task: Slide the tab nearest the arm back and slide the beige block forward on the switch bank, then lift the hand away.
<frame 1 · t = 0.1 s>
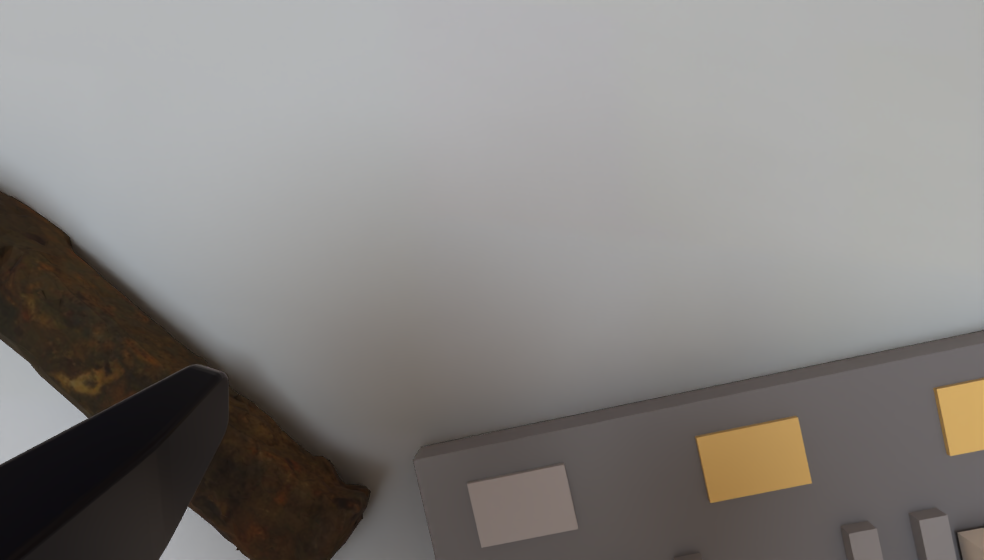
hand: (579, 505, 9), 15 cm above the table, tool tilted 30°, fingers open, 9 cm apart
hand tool: (134, 354, 25), on the table
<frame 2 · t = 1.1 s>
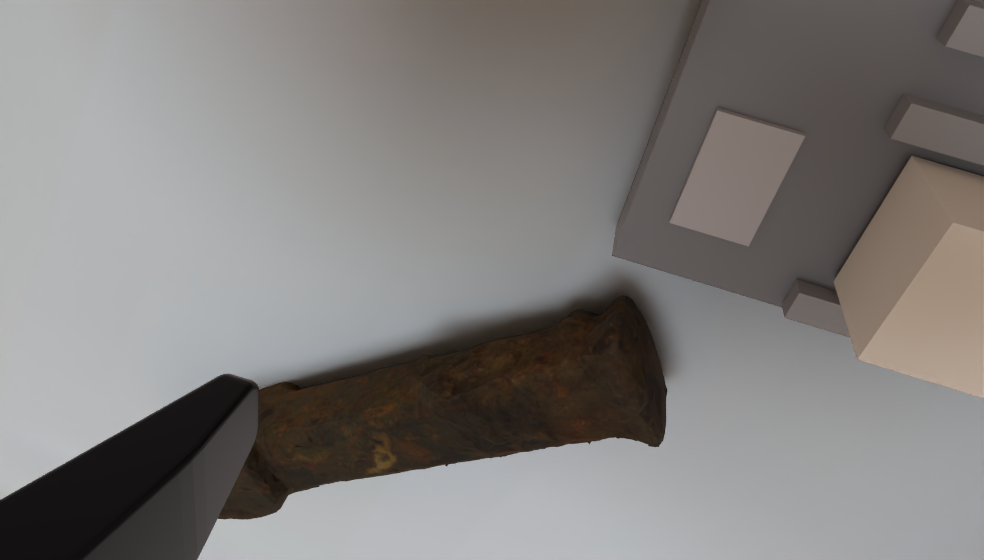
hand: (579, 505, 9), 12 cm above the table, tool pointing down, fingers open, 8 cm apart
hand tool: (405, 389, 26), on the table
tab1: (965, 280, 16), point 3 cm above the table, slide at 6.0 cm
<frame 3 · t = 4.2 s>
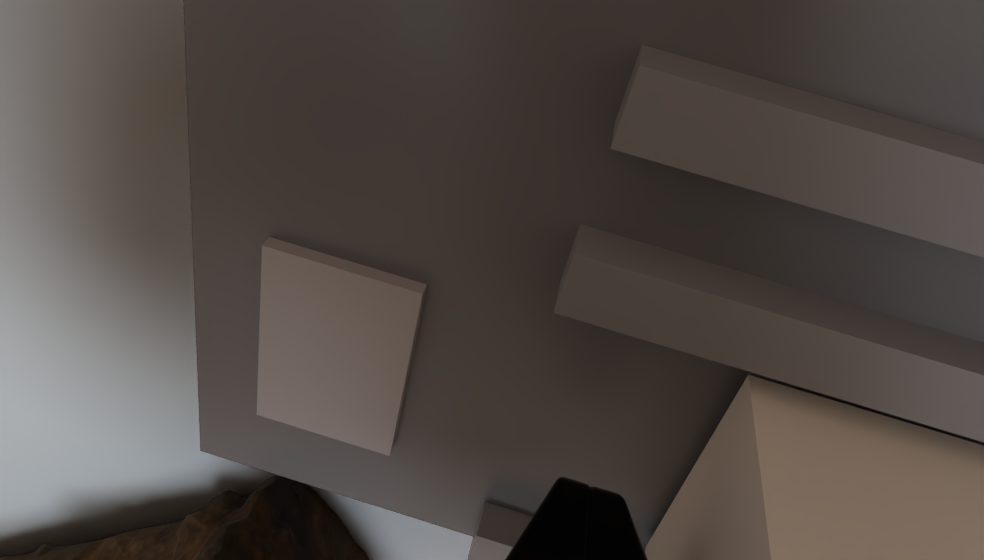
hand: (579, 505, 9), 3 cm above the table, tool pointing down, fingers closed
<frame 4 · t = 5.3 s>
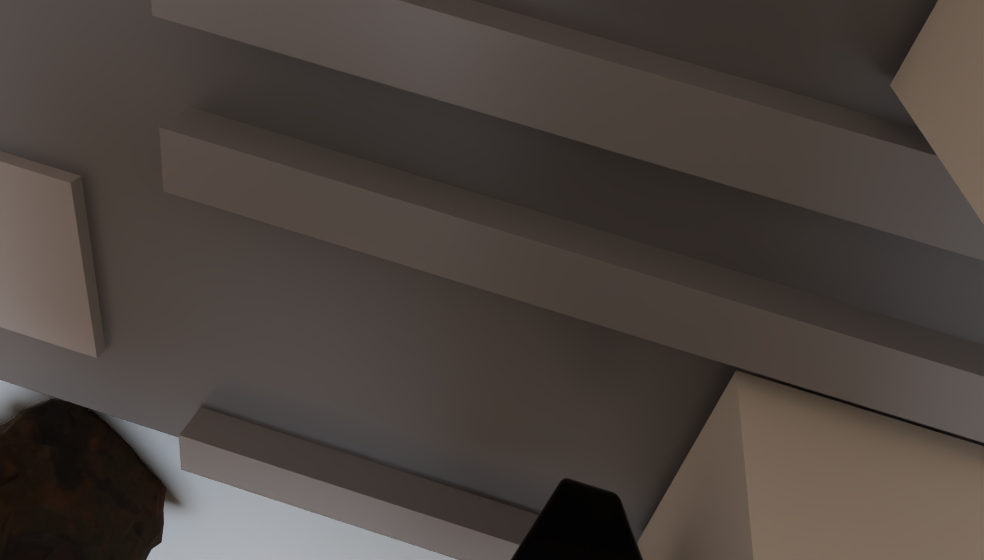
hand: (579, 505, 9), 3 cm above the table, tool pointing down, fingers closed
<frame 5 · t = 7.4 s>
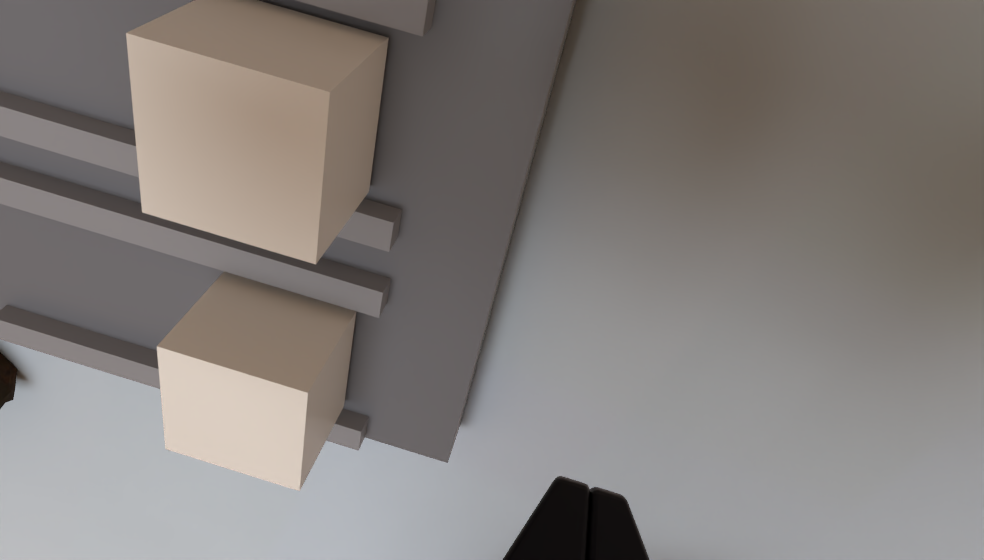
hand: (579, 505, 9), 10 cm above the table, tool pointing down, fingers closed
tab1: (261, 379, 18), point 3 cm above the table, slide at -0.1 cm
switch bank: (164, 22, 17), on the table
beige block: (266, 124, 14), point 3 cm above the table, slide at 0.0 cm
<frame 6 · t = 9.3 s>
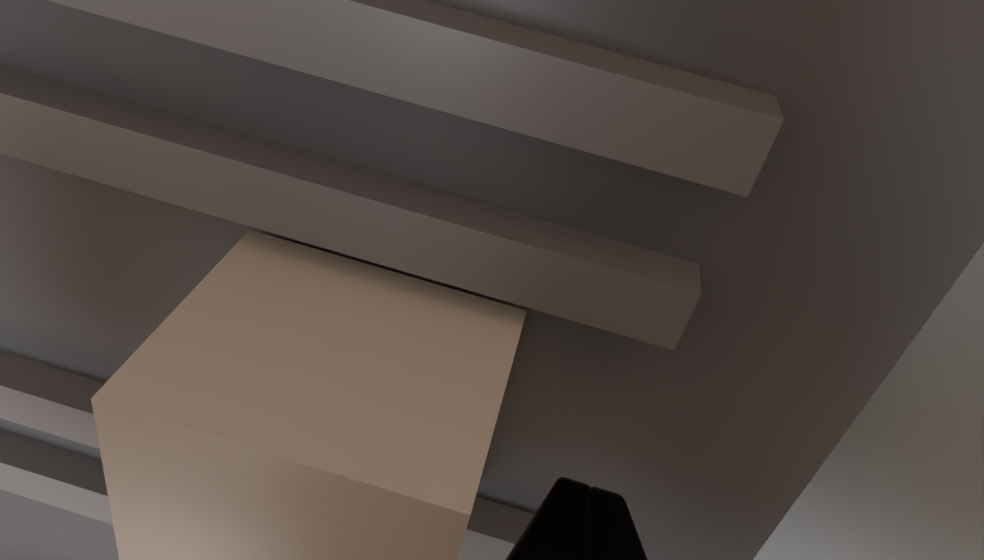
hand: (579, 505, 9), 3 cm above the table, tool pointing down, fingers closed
switch bank: (220, 244, 11), on the table
beige block: (329, 456, 9), point 3 cm above the table, slide at 0.9 cm, touching gripper
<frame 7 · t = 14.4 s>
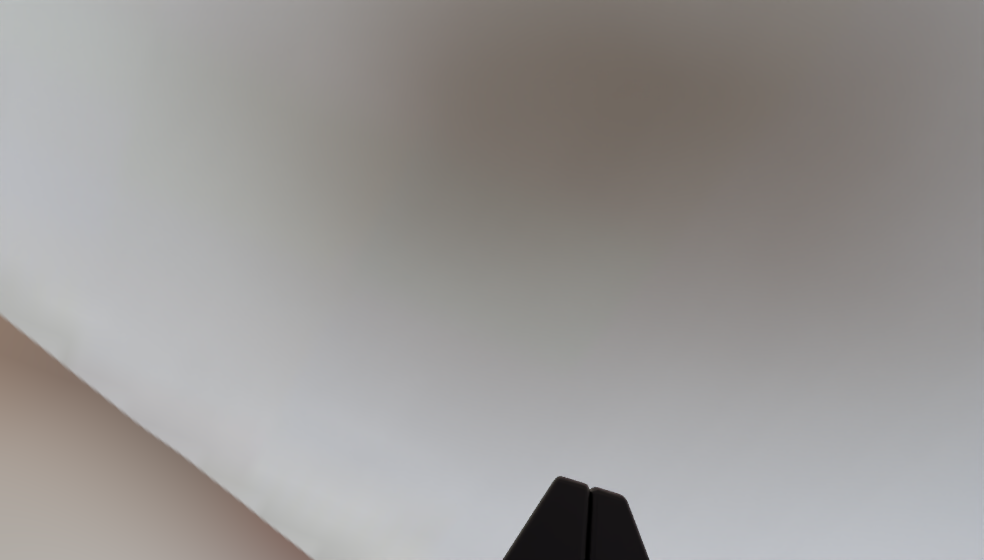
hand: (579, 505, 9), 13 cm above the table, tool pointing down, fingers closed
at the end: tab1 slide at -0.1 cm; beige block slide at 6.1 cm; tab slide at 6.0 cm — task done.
